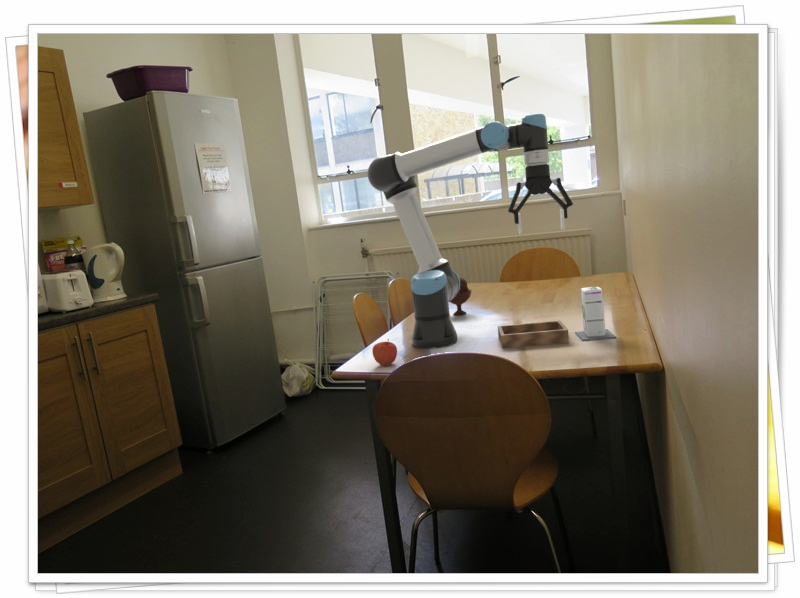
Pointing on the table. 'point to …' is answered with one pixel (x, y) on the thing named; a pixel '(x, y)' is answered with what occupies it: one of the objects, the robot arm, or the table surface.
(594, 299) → the syrup box
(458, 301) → the ice cream bowl
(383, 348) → the apple
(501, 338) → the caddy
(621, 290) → the table surface
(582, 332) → the mat
